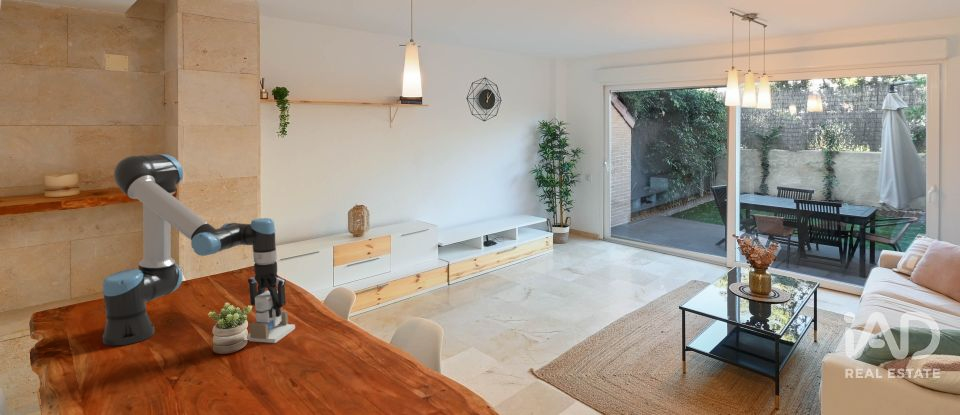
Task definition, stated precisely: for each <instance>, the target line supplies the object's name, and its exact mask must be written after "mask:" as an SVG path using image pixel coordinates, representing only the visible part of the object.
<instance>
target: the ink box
mask: <svg viewBox="0 0 960 415" xmlns="http://www.w3.org/2000/svg"><path fill="white" fill-rule="evenodd" d="M277 293H278V290H277ZM273 308H274V305H273V301H272V296H271V295H270V291H268V289H267V290H265V292H264V293H262V294H260V295H258V296H256V297H255V308H254V309H255V320H256V322H255V323H267V324H268V330H269V329H270V328H272V327H273V310H272V309H273ZM279 320H280V322H281V321H282V320H281V316H279Z"/></svg>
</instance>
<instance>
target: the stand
mask: <svg viewBox="0 0 960 415" xmlns="http://www.w3.org/2000/svg"><path fill="white" fill-rule="evenodd" d="M281 320H282V321H281V322H280V324H278V325H277V326H273V327H272V328H270V329H269V330H268V324H267V323H256V322H251V323H250V324H249V333H247V334H248V336H247V339H248V340H249V341H248V342H256V343H257V342H258V343H270V344H275V343H278V342H279V341H280V340H282V339H283V338H284V337H285V336H287V335H288V334H290V333H291V332H292V331H294V330H295V329H296V324H291V323H290V324H289V313H288V310H282V309H281Z"/></svg>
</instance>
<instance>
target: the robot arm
mask: <svg viewBox="0 0 960 415" xmlns="http://www.w3.org/2000/svg"><path fill="white" fill-rule="evenodd" d="M183 178H184V170H183V165H181V163H180V162H179V161H178V160H177V158H176V157H174V156H172V155H169V154H164V153H163V154H160V153H159V154H158V153H156V154H154V153H153V154H143V155H131V156H127V157H125V158H122V159H121V160H120V161H119V162H118V163H117V164H116V165H115V168H114V171H113V179H114V181H115V183H116V185H117V187H118V188H119V190H121V192H123V193H124V194H125V195H126V196H128V198H130V199H133V200H138V201H139V202H140V203H141V204H142V214H143V216H142V224H143V225H142V227H143V228H142V229H143V232H142V233H143V236H142V237H143V242H142V243H143V253H142V254H143V255H142V256H143V258H142V259H141V260H140V261H139V262H138V268H137V269H135V268H131V269H124V270H122V271H121V270H120V271H117V272H114V273H112V274H110V275H108V276H107V277H105V278H104V280H102V295H103V299H104V307H105V309H104V310H105V316H106V322H105V326H104V332H103V333H102V343H103V344H104V345H106V346H108V347H109V346H110V347H113V346H114V347H116V346H126V345H131V344H135V343H140V342H142V341H145V340H147V339H149V338H151V337H153V335H154V334H155V327H154V326H155V325H154V324H153V323H152V320H151V318H150V317H149V315H148V313H147V303H149V302H150V301H153V300H155V299H158V298H161V297H165V296H167V295H169V294H171V293H173V292H175V291H176V290H177V289H179V287H180V286H181V284H182V281H183V272H182V270H181V269H180V266H179V265H178V264H177V263H176V260H175V259H174V258H172V256H171V255H172V254H171V253H172V252H171V251H172V250H171V249H172V248H171V244H172V243H171V241H172V239H171V238H172V237H171V234H172V233H171V230H172V228H171V227H173V228H175V229H176V230H177V231H179V232H180V233H181V234H182V235H184V236H185V237H186V238H187V239H189V240H190V241H191V243H190V244H191V248H192V249H193V252H194V253H195V254H196V255H198V256H209V255H214V254H217V253H219V252H221V251H225V250H228V249H231V248H235V247H237V246H252V254H253V262H254V264H253V272H254V274H255V275H254V276H252V277H249V278H248V279H247V283H248V285H249V298H250V299H249V301H250V305H251V306H255V297H256V296H258V295H260V294H262V293H264V292H265V291H266V289H267V290H268V291H270V295H271V296H272V301H273V305H274V308H273V309H272V310H273V326H277V325H278V324H280V320H279V316H281V310H282V309H281V308H283V307H285V305H286V304H287V303H286V292H285V291H286V290H285V289H286V288H285V284H286V278H283V279H282V278H279V276H278V262H277V260H278V258H277V246H276V229H275V228H276V227H275V221H274V220H273V218H269V217H264V218H255V219H252V220H251V221H250V223H241V222H240V223H239V222H226V223H224V224H223V225H222V226H220V227H219V228H215V227H214V226H213V225H211V224H210V223H208V221H206V220H205V219H203V218H202V217H201V216H199V214H197V213H195V212H194V211H193V210H192V209H190V208H189V207H187V206H186V205H185V204H184V203H182V202H181V201H180V200H178V198H176V196H173V195H174V194H176V191H177V190H176V188H177V187H176V185H178V184H180V183H181V181H182V180H183ZM277 291H278V293H277Z"/></svg>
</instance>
